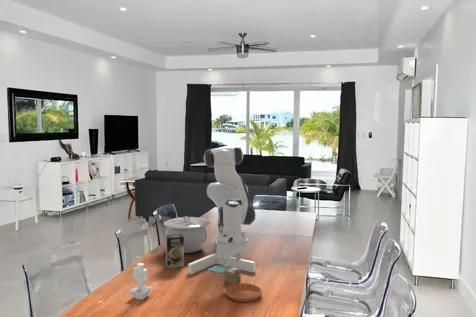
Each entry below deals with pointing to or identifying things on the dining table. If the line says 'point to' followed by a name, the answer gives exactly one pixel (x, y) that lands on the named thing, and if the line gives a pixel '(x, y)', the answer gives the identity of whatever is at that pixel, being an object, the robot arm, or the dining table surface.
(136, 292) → the figurine
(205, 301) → the dining table surface
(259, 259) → the dining table surface
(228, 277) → the cube
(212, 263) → the white l-shaped bracket
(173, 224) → the chamber pot
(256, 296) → the saucer
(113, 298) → the dining table surface
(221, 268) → the pad
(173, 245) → the coffee box
